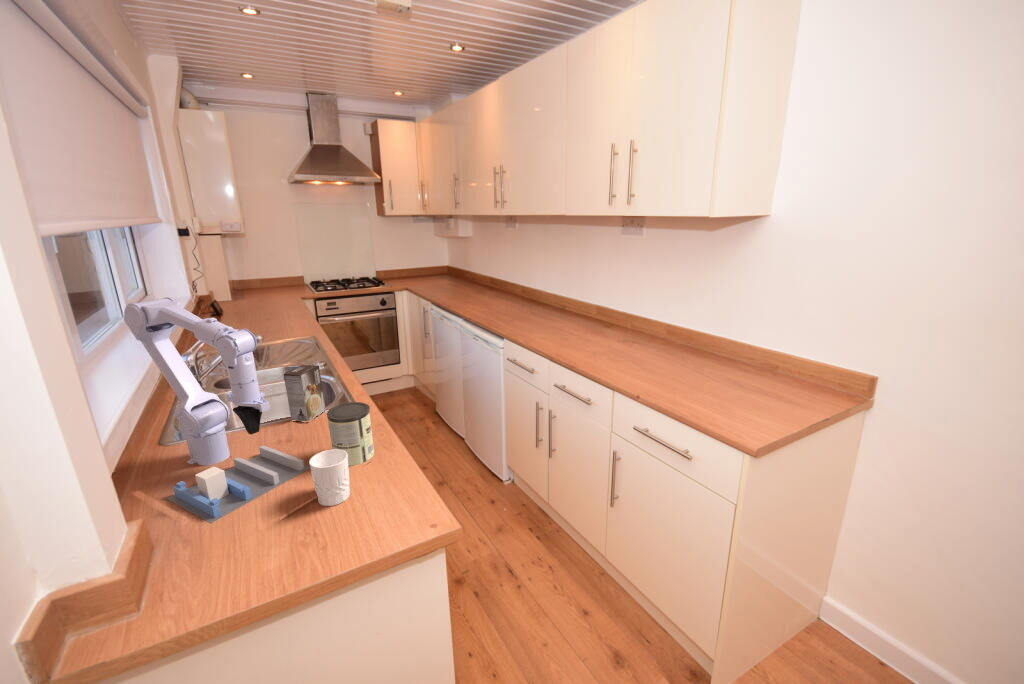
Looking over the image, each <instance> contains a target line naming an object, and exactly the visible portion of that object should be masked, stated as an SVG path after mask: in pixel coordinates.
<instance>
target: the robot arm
mask: <svg viewBox="0 0 1024 684" xmlns="http://www.w3.org/2000/svg"><path fill="white" fill-rule="evenodd" d="M123 321H124V323H125V324H126V326H127V327H128V329H129V330H130V332H131V333H132V334H133V336H134V337H135V340H136V341H140V343H141V344H142V345H143V347H144V348H145V350H146V351H147V353H148V354H149V357H151V359H152V360H153V362H154V363H155V365H156V366H157V368H158V370H159V371H160V372H161V374H162V376H163V377H164V379H165V380H166V381H167V383H168V384H169V386H170V388H171V389H172V391H173V392H174V393H175V395H176V397H177V398H178V400H179V401H180V403H179V405H178V407H176V410H175V412H174V415H175V417H176V419H177V422H178V425H179V427H180V430H181V431H182V432H183V434H185V435H187V436H186V444H187V449H188V452H189V457H190V459H189V460H186V461H187V462H186V463H187V464H189V465H193V464H195V463H197V464H198V465H199V466H212V465H216V464H218V463H219V464H220V463H222V462H224V461H225V460H227V459H228V458H229V457H230V456H231V452H230V447H229V442H228V438H227V433H226V428H225V427H226V426H228V424H227V422H228V421H229V419H230V418H231V417H230V416H231V411H230V408H229V406H228V405H227V404H226V403H225V402H224V401H223V400H221V399H220V398H219V396H218V394H217V393H213V392H209V391H204V389H203V388H202V386H201V385H200V383H199V382H198V380H197V379H196V377H195V376H194V374H193V372H192V371H191V370H190V368H189V366H188V365H187V364H186V362H185V360H184V359H183V358H182V356H181V354H180V352H179V351H178V350H177V348H176V347H175V345H174V343H173V342H172V341H171V339H170V338H171V337H170V336H171V334H174V332H175V330H176V328H177V327H180V328H181V329H185V330H187V331H190V332H192V333H193V334H194V335H193V336H194V338H196V339H197V340H198V341H199V342H202V343H204V344H206V345H208V346H211V347H213V348H214V349H216V351H217V353H218V355H219V356H220V357H221V360H222V364H224V366H225V367H226V370H227V375H228V381H229V386H230V391H231V392H229V393H226V399H227V402H230V403H232V404H233V405H234V406H236V407H233V409H232V411H233V412H234V414H236V416H237V417H238V418H239V419H240V421H241V423H242V424H243V427H244V429H245V430H246V432H247V434H248V435H254V434H256V433H258V432H259V433H260V427H261V419H262V415H263V413H264V412H267V411H269V410H271V405H270V401H267V400H266V399H265V397H266V393H265V392H263V391H261V390H260V386H259V385H260V384H259V380H258V375H257V369H256V368H257V367H256V363H255V359H254V354H253V353H254V351H255V350H256V349H257V346H258V342H257V338H256V336H255V334H254V333H253V332H252V331H250V330H249V329H248V328H242V329H238V328H237V329H235V328H233V327H232V326H229V325H227V324H224V323H222V322H220V321H218V319H217V318H215V317H206V318H201V317H199V316H197V315H195V314H194V313H192V312H190V311H189V310H187V309H186V308H184V307H182V305H181V302H180V301H179V300H176V299H174V298H172V297H170V296H169V297H168V296H167V297H163V298H159V299H152V300H147V301H140V302H130V303H128V304H126V306H125V308H124V311H123Z"/></svg>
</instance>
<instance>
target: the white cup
mask: <svg viewBox="0 0 1024 684" xmlns="http://www.w3.org/2000/svg"><path fill="white" fill-rule="evenodd" d="M308 464H309V467H310V469H309V470H310V472H311V478H312V483H313V487H314V491H315V493H316V497H317V501H318V504H320V505H321V506H324V507H332V506H337V505H340V504H341V503H344V502H345V501H346V500H348V499H349V497H350V494H351V491H350V471H349V467H350V466H348V454H347V452H346V451H344V450H339V449H327V450H323V451H321V452H318V453H316V454H315V455H312V457H311V458H310V459H309V462H308Z"/></svg>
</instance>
